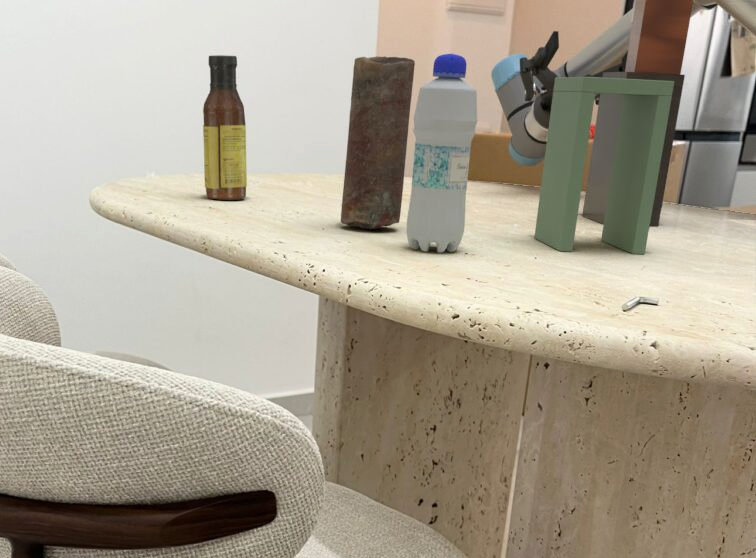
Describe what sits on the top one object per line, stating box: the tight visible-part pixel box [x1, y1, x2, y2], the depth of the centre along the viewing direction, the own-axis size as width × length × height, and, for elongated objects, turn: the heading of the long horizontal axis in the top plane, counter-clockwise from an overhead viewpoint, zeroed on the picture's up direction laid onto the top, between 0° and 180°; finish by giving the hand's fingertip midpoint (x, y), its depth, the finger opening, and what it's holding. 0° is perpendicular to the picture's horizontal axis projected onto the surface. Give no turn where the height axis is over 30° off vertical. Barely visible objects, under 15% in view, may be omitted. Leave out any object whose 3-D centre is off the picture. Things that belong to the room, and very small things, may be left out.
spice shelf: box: [581, 72, 686, 227], centre depth 134 cm, size 8×9×20 cm
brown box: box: [625, 0, 693, 75], centre depth 133 cm, size 6×18×11 cm, turn 171°
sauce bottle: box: [202, 54, 248, 201], centre depth 138 cm, size 7×6×20 cm
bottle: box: [406, 53, 478, 254], centre depth 101 cm, size 7×7×20 cm
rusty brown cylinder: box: [340, 56, 416, 230], centre depth 114 cm, size 8×7×20 cm
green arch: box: [534, 77, 674, 255], centre depth 109 cm, size 10×10×18 cm
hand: (599, 41), depth 147 cm, fingers open, 13 cm apart
